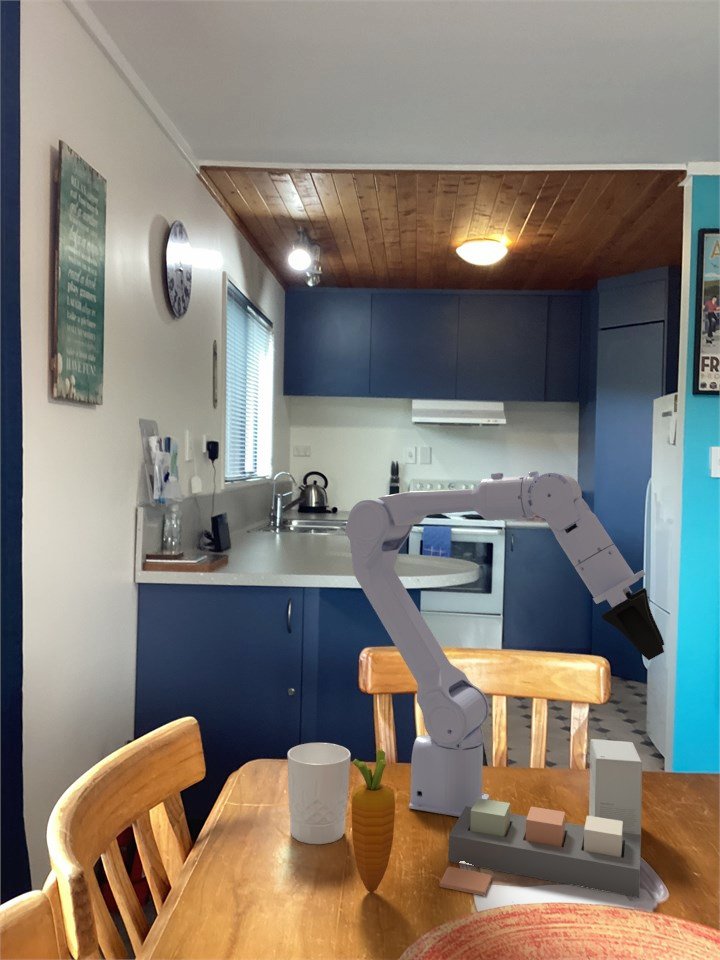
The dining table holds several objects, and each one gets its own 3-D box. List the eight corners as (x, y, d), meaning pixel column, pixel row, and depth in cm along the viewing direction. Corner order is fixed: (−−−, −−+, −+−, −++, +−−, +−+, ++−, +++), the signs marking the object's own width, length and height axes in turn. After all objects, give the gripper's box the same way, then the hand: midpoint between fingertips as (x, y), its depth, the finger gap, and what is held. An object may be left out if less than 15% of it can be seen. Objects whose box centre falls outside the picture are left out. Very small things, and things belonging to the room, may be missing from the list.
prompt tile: (439, 886, 87) (439, 882, 87) (448, 869, 91) (448, 866, 91) (484, 895, 85) (485, 892, 85) (492, 878, 89) (492, 874, 89)
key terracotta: (525, 849, 92) (526, 819, 92) (530, 835, 96) (531, 806, 96) (560, 856, 91) (561, 825, 91) (564, 841, 94) (565, 811, 94)
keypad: (448, 861, 93) (448, 835, 93) (465, 829, 101) (465, 806, 101) (639, 897, 85) (639, 869, 85) (640, 860, 94) (640, 835, 94)
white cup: (359, 826, 101) (360, 748, 101) (331, 852, 94) (332, 768, 94) (305, 814, 105) (306, 739, 105) (274, 839, 98) (275, 757, 98)
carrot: (359, 908, 82) (362, 763, 82) (341, 885, 87) (343, 748, 87) (402, 899, 84) (405, 757, 84) (382, 877, 89) (385, 743, 89)
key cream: (583, 860, 90) (584, 829, 90) (586, 845, 94) (587, 815, 94) (620, 866, 88) (621, 835, 88) (622, 851, 92) (622, 821, 92)
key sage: (470, 839, 94) (470, 810, 94) (477, 826, 98) (477, 797, 98) (503, 845, 93) (504, 816, 93) (509, 831, 97) (510, 803, 97)
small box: (641, 848, 97) (643, 762, 97) (593, 843, 98) (595, 758, 98) (632, 820, 105) (634, 741, 105) (588, 816, 106) (590, 737, 106)
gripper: (619, 538, 93) (688, 642, 89) (625, 539, 106) (685, 630, 103) (566, 569, 94) (632, 672, 91) (579, 567, 108) (636, 656, 104)
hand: (656, 652), depth 97 cm, fingers open, 7 cm apart
